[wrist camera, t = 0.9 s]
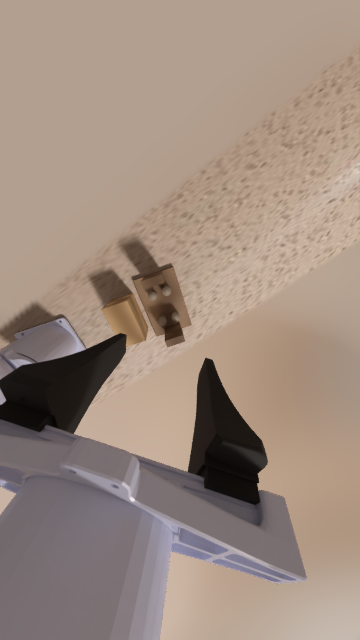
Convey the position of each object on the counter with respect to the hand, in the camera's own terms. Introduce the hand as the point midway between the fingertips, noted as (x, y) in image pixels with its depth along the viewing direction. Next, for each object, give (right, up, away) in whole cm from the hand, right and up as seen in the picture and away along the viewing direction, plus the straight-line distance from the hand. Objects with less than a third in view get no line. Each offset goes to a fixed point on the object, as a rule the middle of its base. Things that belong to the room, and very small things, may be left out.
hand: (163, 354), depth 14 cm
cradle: (-1, +6, +15) cm, 16 cm away
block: (-8, +4, +15) cm, 17 cm away
